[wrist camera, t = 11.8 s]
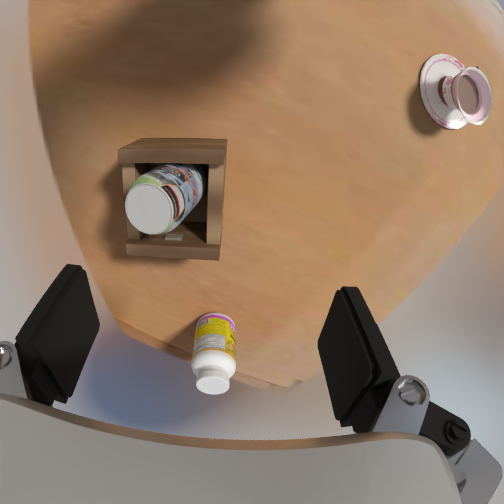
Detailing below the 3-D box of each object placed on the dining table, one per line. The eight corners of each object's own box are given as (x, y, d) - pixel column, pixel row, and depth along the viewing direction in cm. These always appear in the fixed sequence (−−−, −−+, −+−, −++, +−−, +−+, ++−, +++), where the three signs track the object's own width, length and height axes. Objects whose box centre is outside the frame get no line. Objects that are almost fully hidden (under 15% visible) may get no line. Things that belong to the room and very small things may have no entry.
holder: (141, 138, 33) (117, 149, 26) (227, 139, 34) (224, 149, 27) (144, 226, 39) (126, 255, 32) (222, 230, 40) (219, 260, 33)
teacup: (462, 141, 34) (488, 150, 29) (409, 106, 32) (434, 110, 26) (479, 80, 28) (505, 83, 23) (428, 39, 26) (453, 35, 21)
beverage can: (215, 195, 36) (204, 237, 26) (161, 204, 36) (130, 248, 26) (207, 146, 33) (189, 168, 23) (150, 158, 33) (111, 186, 23)
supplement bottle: (232, 340, 51) (232, 400, 39) (195, 335, 50) (188, 395, 38) (238, 313, 47) (239, 375, 36) (198, 307, 46) (189, 370, 35)
